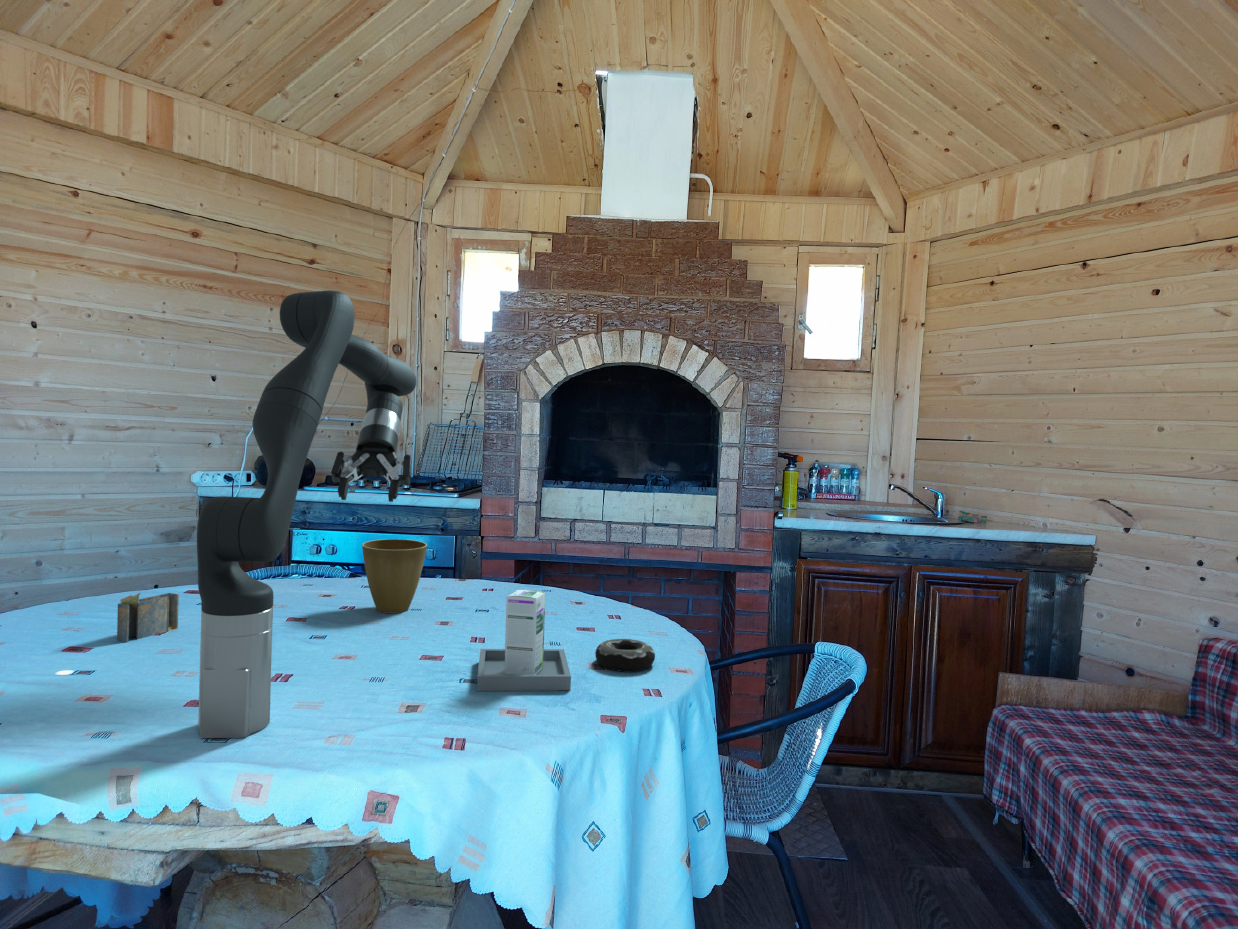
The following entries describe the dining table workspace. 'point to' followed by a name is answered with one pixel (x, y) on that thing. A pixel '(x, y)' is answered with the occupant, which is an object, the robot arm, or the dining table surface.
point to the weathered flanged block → (147, 616)
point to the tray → (546, 679)
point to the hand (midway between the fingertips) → (366, 498)
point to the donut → (625, 654)
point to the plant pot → (393, 572)
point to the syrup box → (524, 632)
